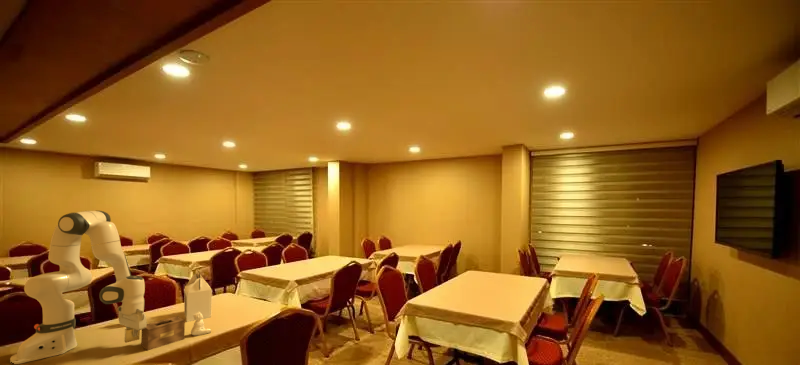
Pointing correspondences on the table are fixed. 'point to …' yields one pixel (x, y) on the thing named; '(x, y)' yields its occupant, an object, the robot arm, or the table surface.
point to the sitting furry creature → (199, 325)
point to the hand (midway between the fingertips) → (132, 335)
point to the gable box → (197, 298)
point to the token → (130, 335)
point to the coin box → (163, 332)
